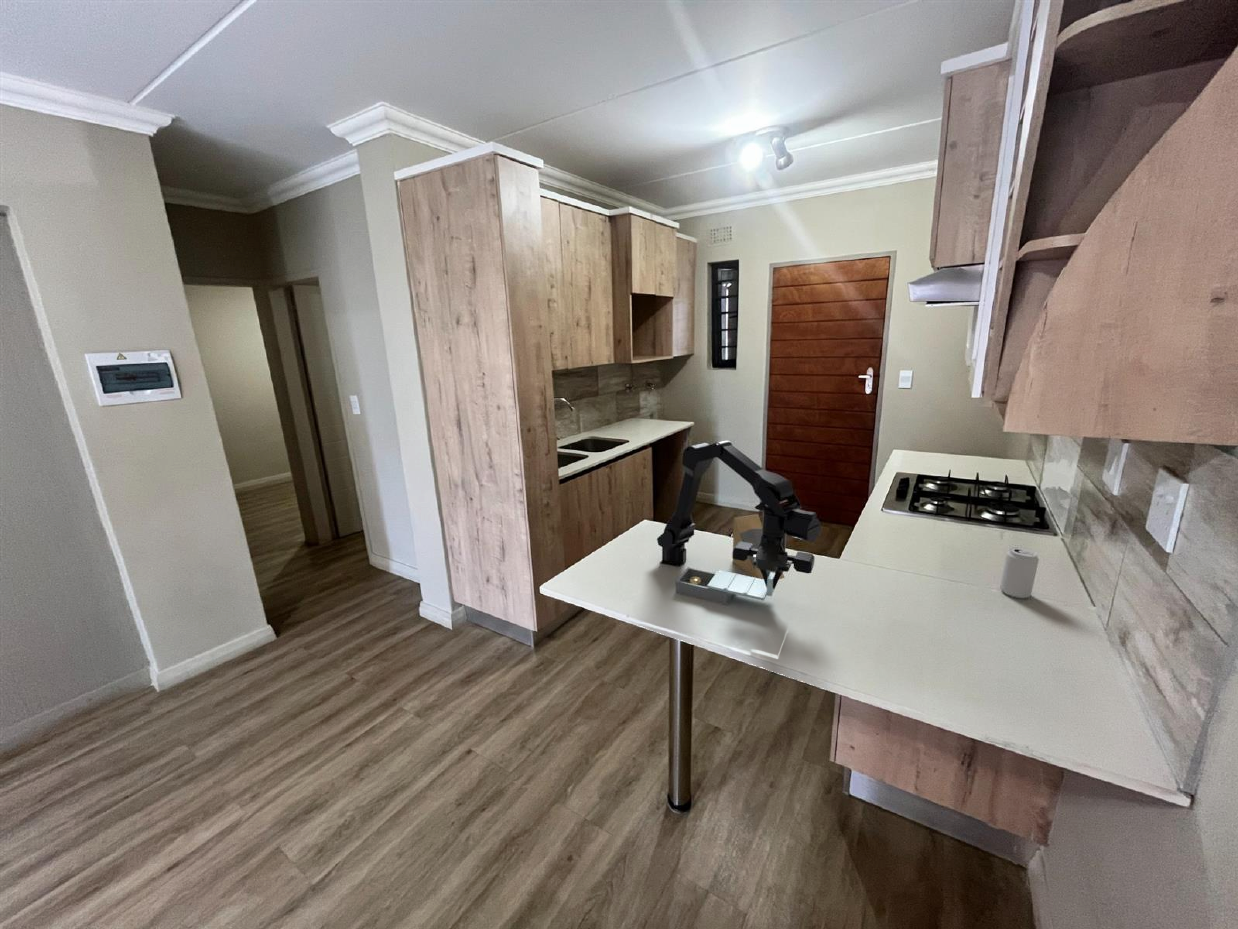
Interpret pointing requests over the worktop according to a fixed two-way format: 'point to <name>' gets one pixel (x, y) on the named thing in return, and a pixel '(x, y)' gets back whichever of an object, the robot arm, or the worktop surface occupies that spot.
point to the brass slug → (695, 580)
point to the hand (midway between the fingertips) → (770, 587)
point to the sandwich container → (748, 541)
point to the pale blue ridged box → (742, 585)
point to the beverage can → (1019, 572)
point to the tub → (701, 587)
